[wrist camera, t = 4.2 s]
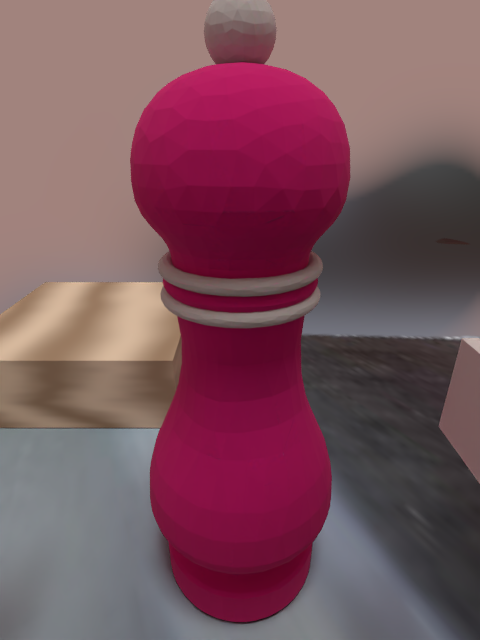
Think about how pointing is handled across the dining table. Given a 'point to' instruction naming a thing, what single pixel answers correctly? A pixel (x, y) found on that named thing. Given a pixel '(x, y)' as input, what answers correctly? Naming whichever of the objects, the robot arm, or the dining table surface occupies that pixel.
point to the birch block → (89, 357)
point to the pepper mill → (240, 311)
